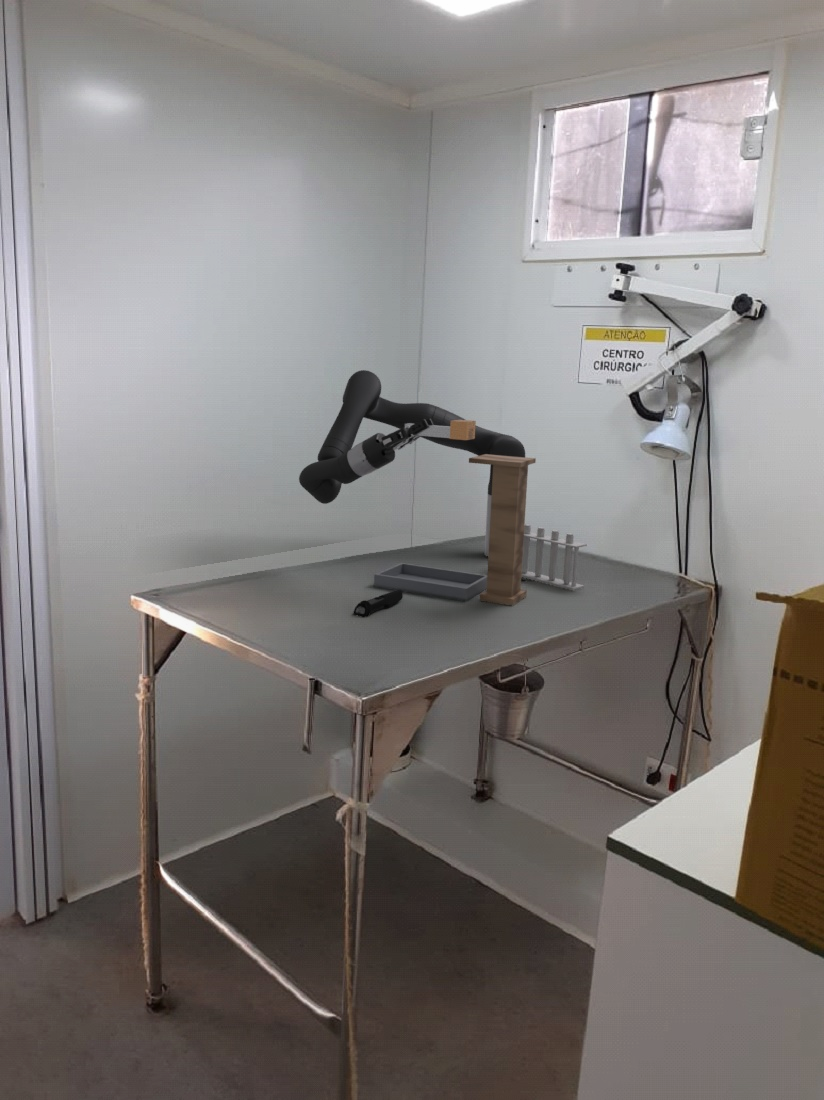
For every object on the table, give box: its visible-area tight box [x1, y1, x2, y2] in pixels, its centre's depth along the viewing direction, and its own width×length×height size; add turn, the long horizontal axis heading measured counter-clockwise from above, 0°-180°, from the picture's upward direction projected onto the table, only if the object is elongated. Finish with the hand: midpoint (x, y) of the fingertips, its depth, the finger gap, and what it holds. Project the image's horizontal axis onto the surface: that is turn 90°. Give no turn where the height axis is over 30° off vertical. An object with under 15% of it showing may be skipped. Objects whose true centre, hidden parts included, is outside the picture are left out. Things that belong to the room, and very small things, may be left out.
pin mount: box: [468, 454, 536, 606], centre depth 195 cm, size 10×12×32 cm
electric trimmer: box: [353, 589, 404, 618], centre depth 187 cm, size 4×16×3 cm, turn 147°
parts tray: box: [373, 562, 487, 602], centre depth 205 cm, size 14×24×3 cm, turn 64°
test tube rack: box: [521, 523, 587, 592], centre depth 215 cm, size 25×4×13 cm, turn 43°
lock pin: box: [405, 419, 476, 440], centre depth 197 cm, size 5×16×4 cm, turn 64°
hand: (428, 422), depth 198 cm, fingers closed on lock pin, 2 cm apart
